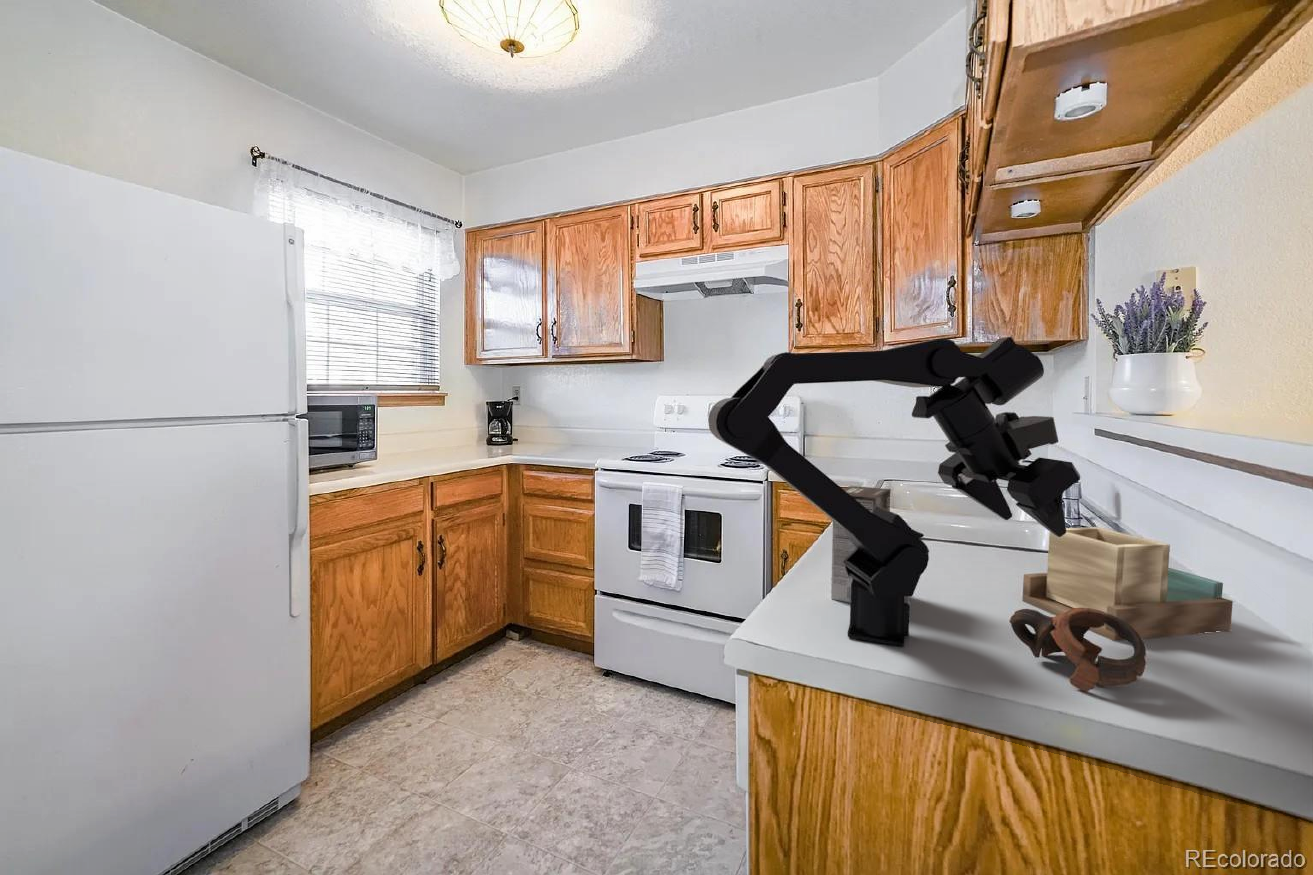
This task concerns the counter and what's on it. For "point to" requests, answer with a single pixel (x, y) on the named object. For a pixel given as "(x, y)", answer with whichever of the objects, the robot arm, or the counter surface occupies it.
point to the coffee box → (843, 543)
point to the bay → (1154, 607)
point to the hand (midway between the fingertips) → (1033, 525)
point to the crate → (1105, 569)
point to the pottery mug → (1081, 645)
